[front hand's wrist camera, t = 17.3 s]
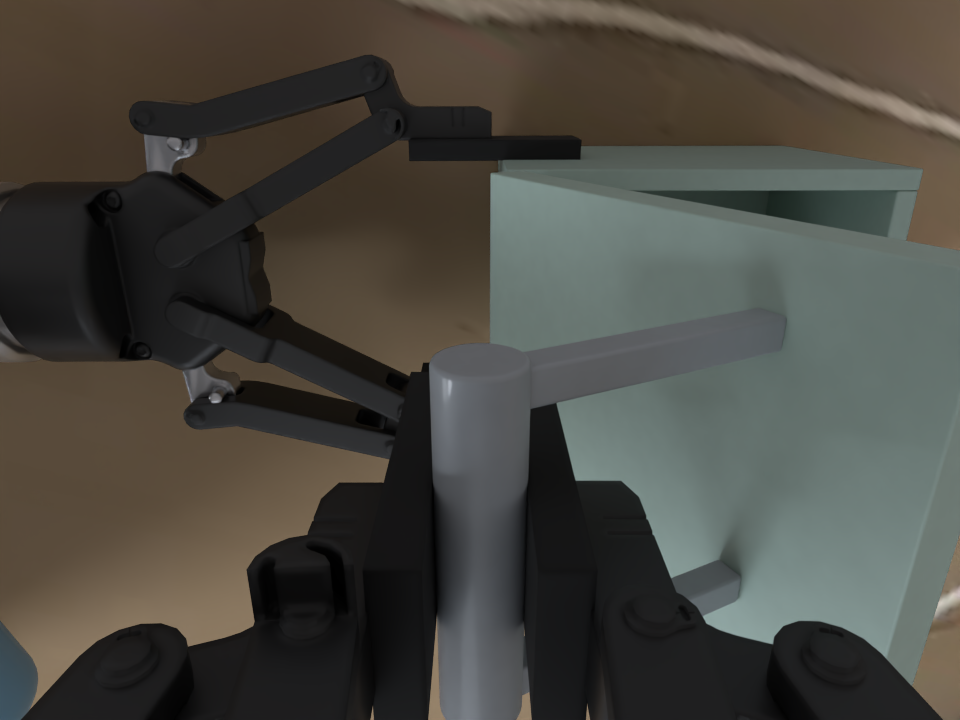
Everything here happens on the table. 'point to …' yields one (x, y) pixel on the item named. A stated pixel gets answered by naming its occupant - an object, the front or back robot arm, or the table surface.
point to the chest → (754, 181)
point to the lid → (702, 419)
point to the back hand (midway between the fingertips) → (570, 271)
